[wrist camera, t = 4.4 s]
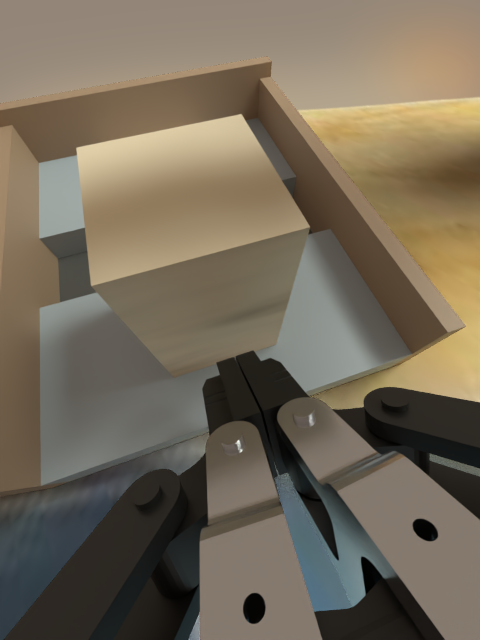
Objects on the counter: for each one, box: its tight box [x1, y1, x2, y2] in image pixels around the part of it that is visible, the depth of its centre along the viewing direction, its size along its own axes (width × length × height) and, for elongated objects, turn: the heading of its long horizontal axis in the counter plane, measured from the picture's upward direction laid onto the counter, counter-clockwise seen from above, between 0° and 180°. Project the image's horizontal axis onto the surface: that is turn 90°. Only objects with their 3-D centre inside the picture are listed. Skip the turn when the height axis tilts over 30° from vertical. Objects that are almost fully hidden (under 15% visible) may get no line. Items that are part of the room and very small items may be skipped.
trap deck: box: [0, 56, 466, 497], centre depth 19 cm, size 26×22×6 cm
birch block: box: [76, 114, 310, 378], centre depth 13 cm, size 6×6×9 cm
